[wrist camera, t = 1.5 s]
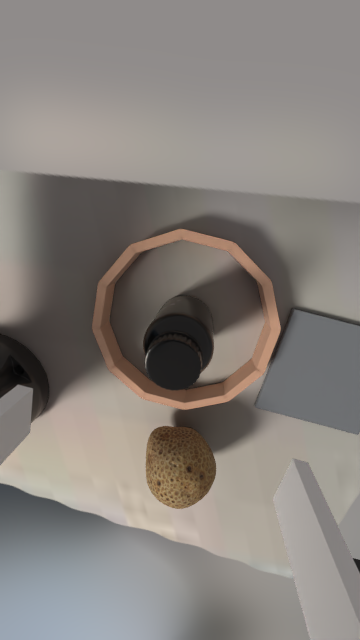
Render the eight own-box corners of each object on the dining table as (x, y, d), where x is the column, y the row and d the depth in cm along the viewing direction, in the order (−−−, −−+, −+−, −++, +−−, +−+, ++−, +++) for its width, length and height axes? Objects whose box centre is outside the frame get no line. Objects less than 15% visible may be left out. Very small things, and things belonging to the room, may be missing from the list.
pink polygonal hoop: (93, 371, 35) (83, 383, 33) (117, 213, 29) (108, 209, 26) (240, 410, 35) (243, 425, 32) (297, 258, 29) (308, 260, 26)
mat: (254, 404, 35) (255, 407, 34) (292, 308, 30) (294, 309, 30) (355, 431, 34) (357, 434, 34) (408, 338, 30) (412, 339, 30)
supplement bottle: (166, 287, 31) (143, 314, 20) (219, 303, 31) (228, 340, 20) (152, 337, 33) (124, 387, 22) (202, 353, 33) (201, 411, 22)
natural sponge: (210, 464, 38) (211, 537, 29) (151, 455, 39) (134, 525, 29) (217, 413, 36) (222, 475, 26) (154, 405, 36) (137, 463, 27)
